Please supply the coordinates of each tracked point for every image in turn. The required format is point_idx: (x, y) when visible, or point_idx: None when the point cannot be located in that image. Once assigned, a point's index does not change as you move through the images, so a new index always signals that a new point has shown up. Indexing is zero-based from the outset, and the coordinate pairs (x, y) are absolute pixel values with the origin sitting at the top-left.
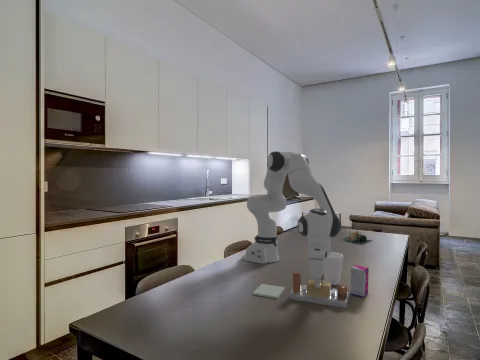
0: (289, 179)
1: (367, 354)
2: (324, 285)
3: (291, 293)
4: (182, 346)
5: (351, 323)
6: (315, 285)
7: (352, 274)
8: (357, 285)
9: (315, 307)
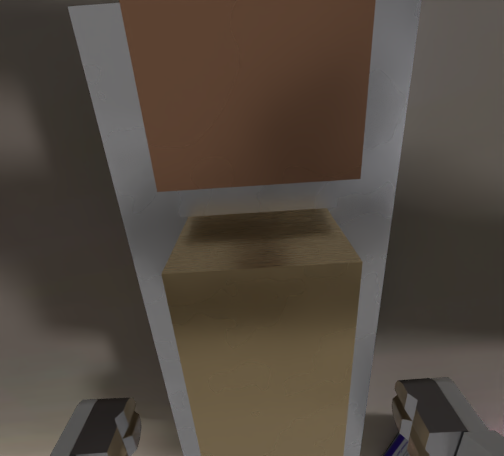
0: None
1: None
2: (208, 445)
3: (78, 38)
4: None
5: (34, 451)
6: (73, 414)
7: None
8: None
9: (89, 285)
